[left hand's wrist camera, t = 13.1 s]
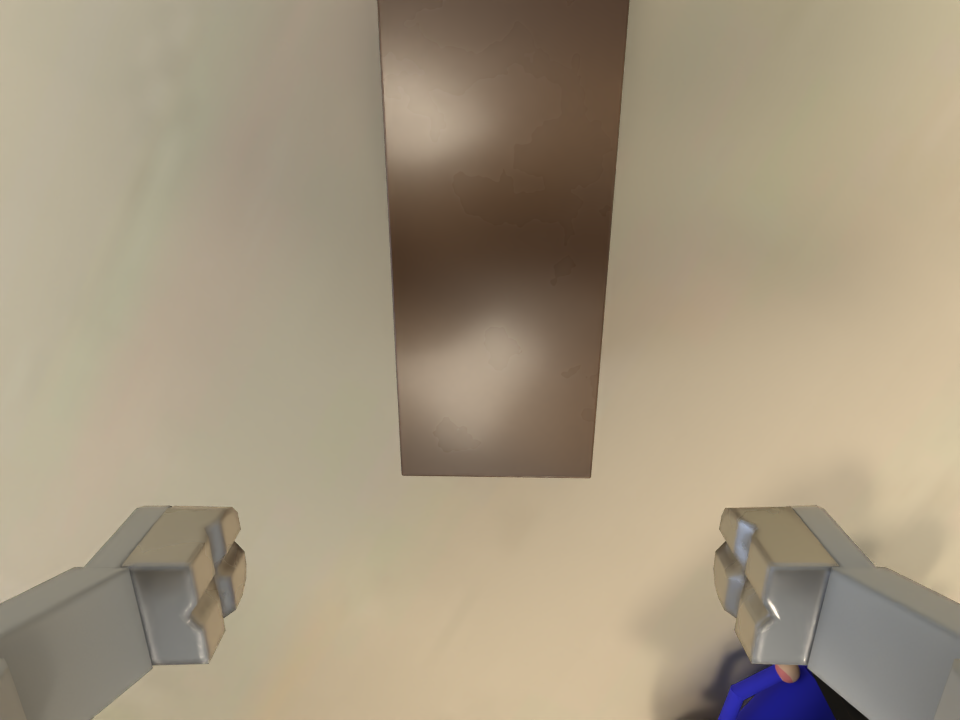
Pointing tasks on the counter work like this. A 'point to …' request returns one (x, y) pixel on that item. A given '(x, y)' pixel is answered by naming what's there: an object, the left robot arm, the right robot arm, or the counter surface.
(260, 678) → the counter surface
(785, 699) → the figurine character
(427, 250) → the bar
